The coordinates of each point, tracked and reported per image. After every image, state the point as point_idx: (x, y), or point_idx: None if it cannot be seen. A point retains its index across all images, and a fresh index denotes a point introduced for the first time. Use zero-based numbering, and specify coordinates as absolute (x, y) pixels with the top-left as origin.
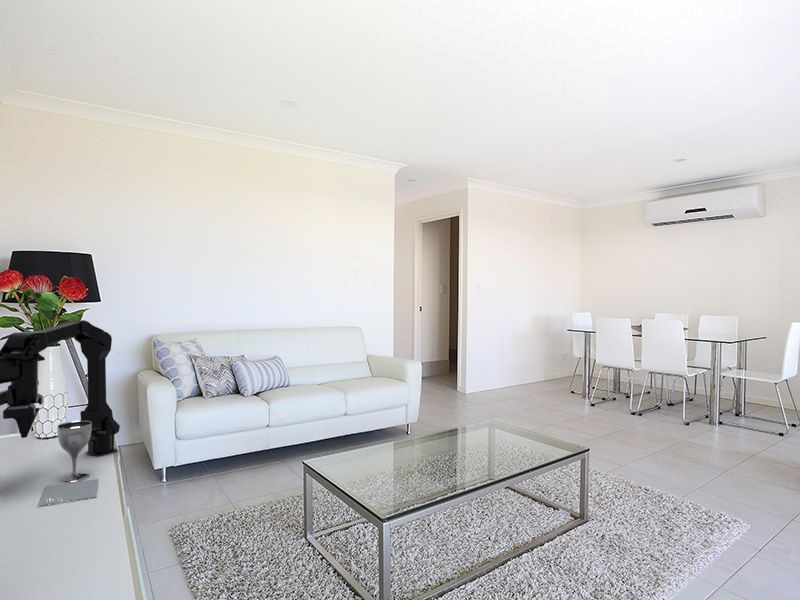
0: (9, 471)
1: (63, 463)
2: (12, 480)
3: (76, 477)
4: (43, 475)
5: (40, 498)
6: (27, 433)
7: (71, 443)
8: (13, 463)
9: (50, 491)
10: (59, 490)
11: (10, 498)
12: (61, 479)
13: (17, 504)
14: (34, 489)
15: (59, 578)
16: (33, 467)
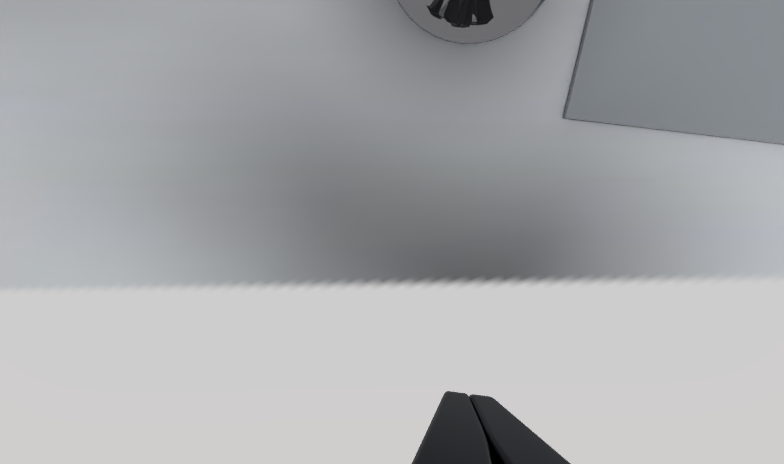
0: (148, 276)
1: (102, 7)
2: (318, 262)
3: None
4: (312, 124)
5: (775, 141)
6: (529, 437)
7: None
8: (5, 262)
9: (689, 90)
10: (714, 40)
11: (619, 265)
12: (481, 25)
13: (744, 238)
14: (553, 168)
15: None
16: (122, 173)
